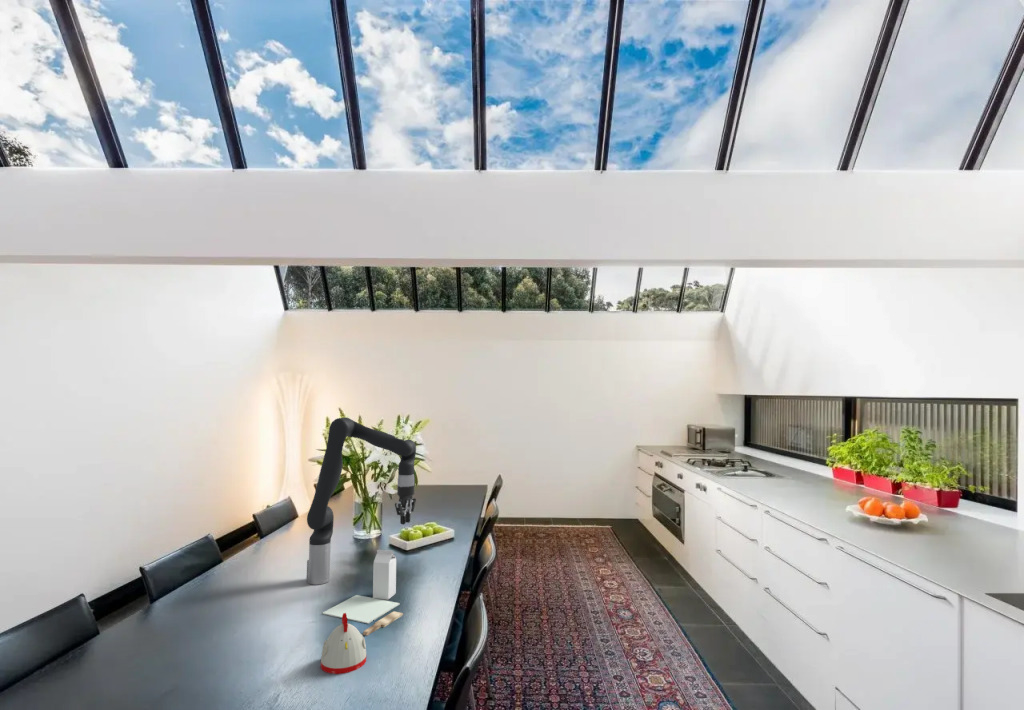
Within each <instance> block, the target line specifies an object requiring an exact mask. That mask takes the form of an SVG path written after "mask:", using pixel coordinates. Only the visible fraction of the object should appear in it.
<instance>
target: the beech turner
mask: <svg viewBox="0 0 1024 710" xmlns="http://www.w3.org/2000/svg"><path fill="white" fill-rule="evenodd" d="M402 616H404V613H403V612H399V611H391V612H390V613H389V614H387V615H385V616H384V617H382V618H380V619H379V620H377V621H376V622H374V623H373V624H372V625H371V626H369V627H367V628H366V629H364V630H363V631H362V635H363V636H369V635H371V634H372V633H375V631H377V630H379V629H380V628H385V627H387V626H388V625H390V624H391V623H393V622H395V621H396V620H397V619H399V618H401V617H402Z"/></svg>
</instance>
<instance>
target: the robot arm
mask: <svg viewBox="0 0 1024 710" xmlns="http://www.w3.org/2000/svg"><path fill="white" fill-rule="evenodd" d="M327 436H328V437H327V444H326V448H325V452H324V456H323V460H322V464H321V466H320V470H319V475H318V480H317V484H316V486H315V487H316V488H315V491H314V495H313V499H312V502H311V504H310V508H309V510H308V512H307V516H306V524H307V525H308V527H309V528H310V530H313V532H312V533H311V535H310V536H309V540H308V541H309V543H308V544H309V545H308V559H307V561H306V579H305V580H306V583H308V584H309V585H315V586H316V585H317V586H318V585H323V584H327V583H329V582H330V578H331V573H330V572H331V548H332V547H331V544H332V543H331V542H332V536H333V533H334V521H335V520H334V518H335V517H334V511H333V509H332V508H331V507H330V506H329V505H328V504H329V502H330V499H331V497H332V496H333V493H334V492H335V490H336V489H337V487H338V484H339V483H340V479H341V475H342V471H343V464H344V462H343V449H344V448H343V447H344V446H345V441H346V439H347V437H349V438H354V439H355V438H356V439H359V440H362V441H365V442H366V443H368V444H370V445H373V446H374V447H377V448H381V449H383V450H387V451H390V452H391V453H394V454H396V455H397V456H400V461H399V463H398V473H397V474H398V475H397V488H396V489H397V491H396V493H397V494H396V495H397V496H398V502H395V503H394V507H395V511H396V515H397V516H400V517H399V518H400V522H399V523H400V525H406V523H407V524H409V523H411V514H412V513H413V512H414V510H415V506H416V502H417V499H416V498H414V497H413V496H414V495H415V460H416V454H417V446H416V443H415V442H414V440H412V439H405V440H404V439H401V438H398V437H396V436H395V435H393V434H390V433H388V432H387V433H386V432H384V431H381V430H376V429H373V428H372V427H371V428H370V427H367V426H365V425H363V424H360V423H358V422H357V421H355V420H353V419H351V418H349V417H339V418H335V419H334V420H333V421H332V422H331V423H330V425H329V428H328V435H327Z"/></svg>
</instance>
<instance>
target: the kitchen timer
mask: <svg viewBox="0 0 1024 710" xmlns="http://www.w3.org/2000/svg"><path fill="white" fill-rule="evenodd" d="M366 662H367V645H366V639H365V637H364V635H363V633H360V631H359V630H358V628H357V627H356V626H354V625H353V624H351V623H348V619H347V615H346V613H343V617H342V618H341V624H339V625H337V626H336V627H335V628H334V629H333V630H332V631H331V633H330V634H329V635H328V637H327V640H324V641H323V645H322V651H321V659H320V669H321V670H322V671H323V672H325V673H329V674H332V675H333V674H335V675H341V674H348V673H351V672H354V671H357V670H358V669H360V668H362V667H363V666H364V665H365V664H366Z"/></svg>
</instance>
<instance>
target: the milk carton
mask: <svg viewBox="0 0 1024 710" xmlns="http://www.w3.org/2000/svg"><path fill="white" fill-rule="evenodd" d="M376 552H377V553H376V555H375V558H374V560H373V567H372V569H373V573H372V574H373V575H372V576H373V577H372V580H373V581H372V598H375V599H380V600H385V601H390V599H391V598H392V597H393V596H395V595H396V592H397V589H396V588H397V557H396V555H395V554H394V550H388V549H387V550H386V549H377V551H376Z"/></svg>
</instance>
